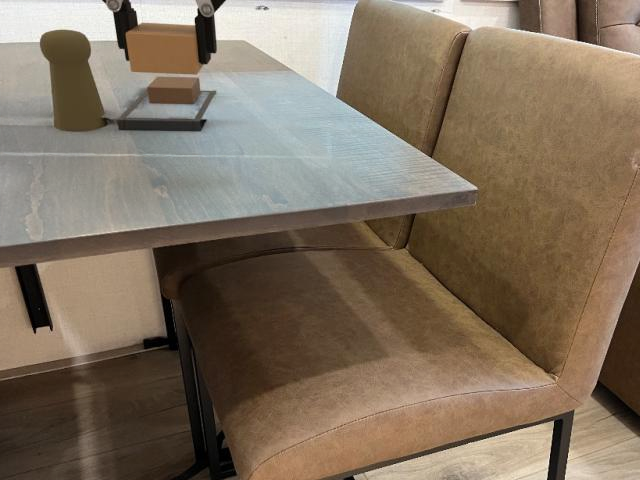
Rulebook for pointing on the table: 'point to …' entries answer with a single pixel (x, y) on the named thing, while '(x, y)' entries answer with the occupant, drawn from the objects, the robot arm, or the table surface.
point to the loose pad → (163, 49)
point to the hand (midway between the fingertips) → (169, 57)
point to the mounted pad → (174, 90)
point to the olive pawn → (72, 82)
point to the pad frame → (162, 123)
